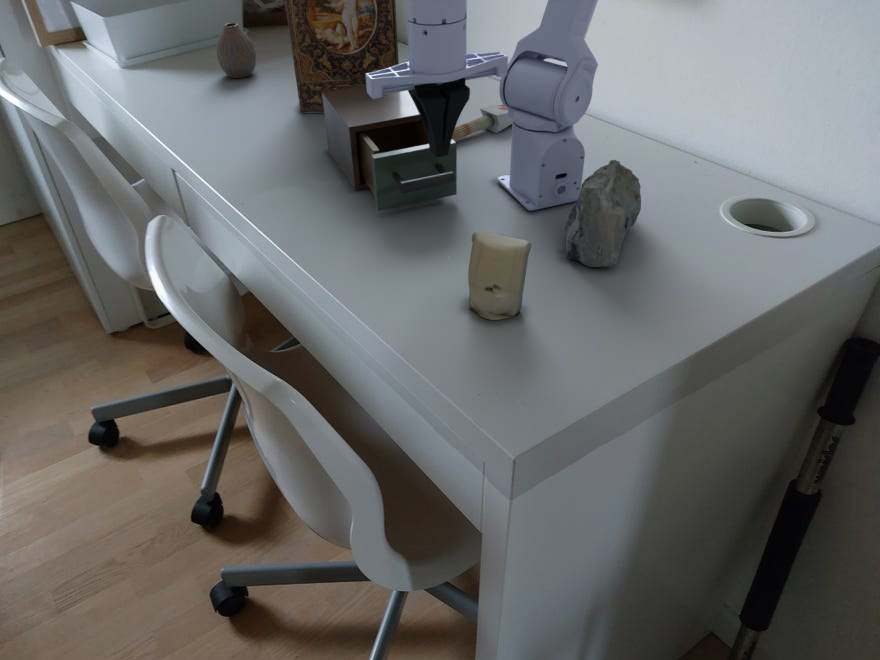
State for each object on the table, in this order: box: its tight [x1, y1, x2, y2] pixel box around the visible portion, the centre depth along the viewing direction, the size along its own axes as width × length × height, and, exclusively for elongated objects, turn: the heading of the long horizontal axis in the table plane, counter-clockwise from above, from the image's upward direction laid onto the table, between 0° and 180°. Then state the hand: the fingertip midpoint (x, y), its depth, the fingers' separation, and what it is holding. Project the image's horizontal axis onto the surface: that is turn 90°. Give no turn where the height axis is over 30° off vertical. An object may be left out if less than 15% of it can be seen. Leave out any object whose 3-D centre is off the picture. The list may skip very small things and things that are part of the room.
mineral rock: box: [564, 159, 642, 268], centre depth 78 cm, size 13×11×10 cm
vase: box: [216, 22, 257, 79], centre depth 130 cm, size 7×7×9 cm
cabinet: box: [322, 85, 422, 192], centre depth 97 cm, size 14×12×9 cm
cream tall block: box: [467, 230, 532, 321], centre depth 69 cm, size 6×5×8 cm
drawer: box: [355, 120, 458, 212], centre depth 89 cm, size 17×10×7 cm, turn 19°
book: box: [284, 0, 400, 114], centre depth 109 cm, size 16×6×25 cm, turn 84°
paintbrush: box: [451, 104, 513, 142], centre depth 106 cm, size 4×3×20 cm
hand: (439, 152), depth 77 cm, fingers closed
